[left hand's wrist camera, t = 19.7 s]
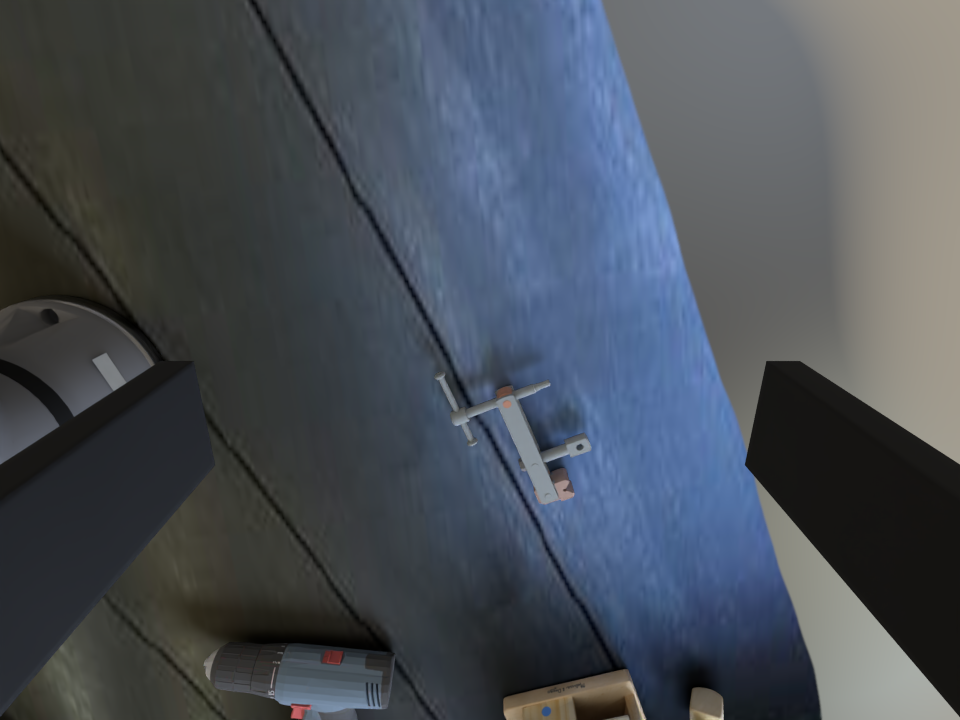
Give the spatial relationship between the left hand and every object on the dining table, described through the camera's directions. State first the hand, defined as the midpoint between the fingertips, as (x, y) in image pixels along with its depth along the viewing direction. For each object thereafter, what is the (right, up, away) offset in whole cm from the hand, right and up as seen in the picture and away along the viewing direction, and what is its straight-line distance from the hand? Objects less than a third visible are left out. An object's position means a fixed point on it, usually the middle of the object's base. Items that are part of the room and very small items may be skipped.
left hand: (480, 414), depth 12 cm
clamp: (+4, -4, +34) cm, 35 cm away
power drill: (-19, -36, +47) cm, 62 cm away
